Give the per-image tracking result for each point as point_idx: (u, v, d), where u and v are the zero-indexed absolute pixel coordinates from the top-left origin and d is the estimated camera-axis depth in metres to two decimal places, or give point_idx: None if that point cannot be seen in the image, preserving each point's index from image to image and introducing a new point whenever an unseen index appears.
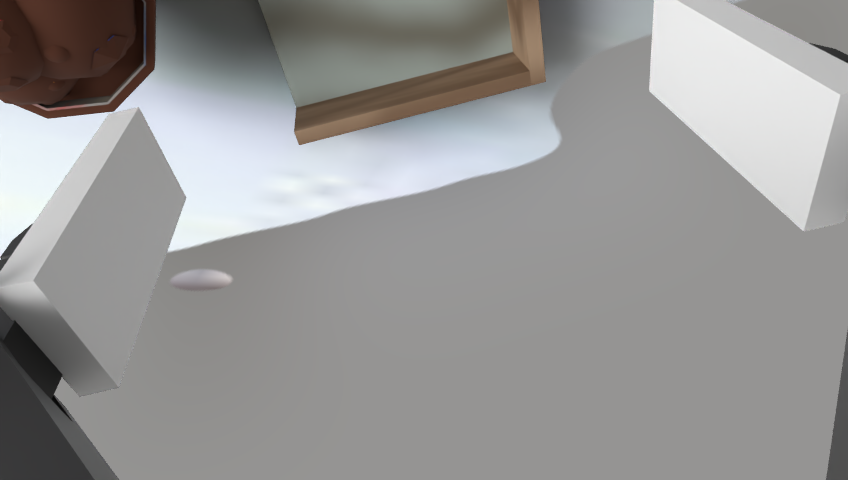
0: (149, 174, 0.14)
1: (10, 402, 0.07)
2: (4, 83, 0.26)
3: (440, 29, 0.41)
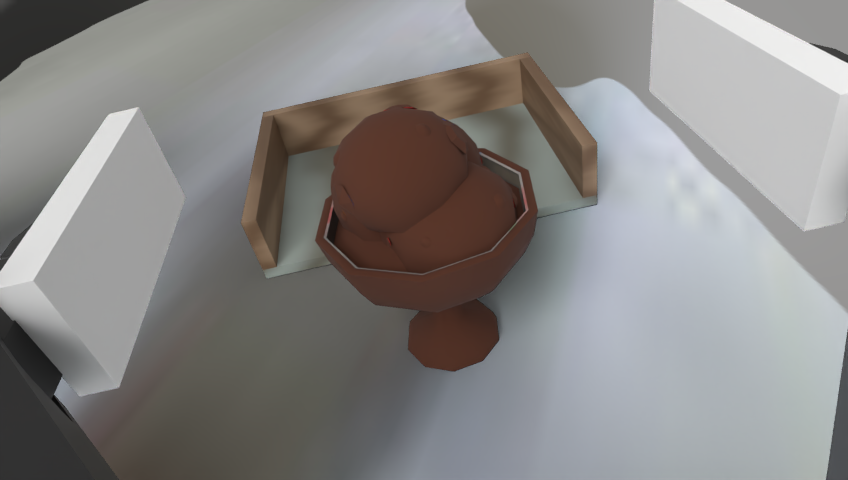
0: (149, 174, 0.14)
1: (10, 402, 0.07)
2: (451, 127, 0.26)
3: (505, 133, 0.50)
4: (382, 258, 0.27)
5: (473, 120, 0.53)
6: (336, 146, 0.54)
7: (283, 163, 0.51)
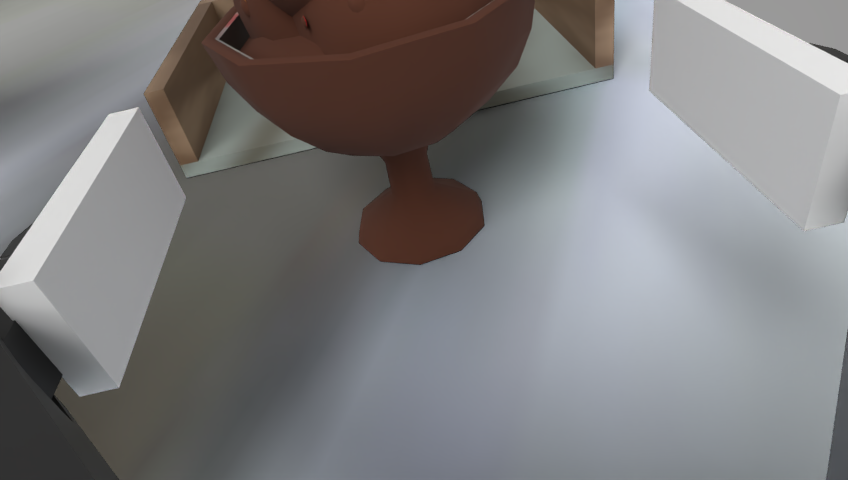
0: (149, 174, 0.14)
1: (10, 402, 0.07)
2: None
3: None
4: (297, 54, 0.17)
5: None
6: None
7: None
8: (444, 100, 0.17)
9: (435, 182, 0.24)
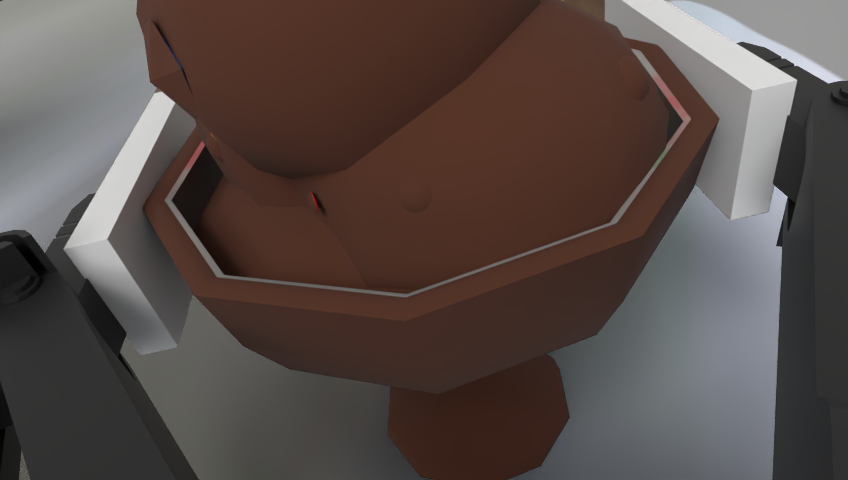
0: None
1: (82, 358, 0.08)
2: None
3: None
4: (300, 249, 0.10)
5: None
6: None
7: None
8: (560, 338, 0.10)
9: None
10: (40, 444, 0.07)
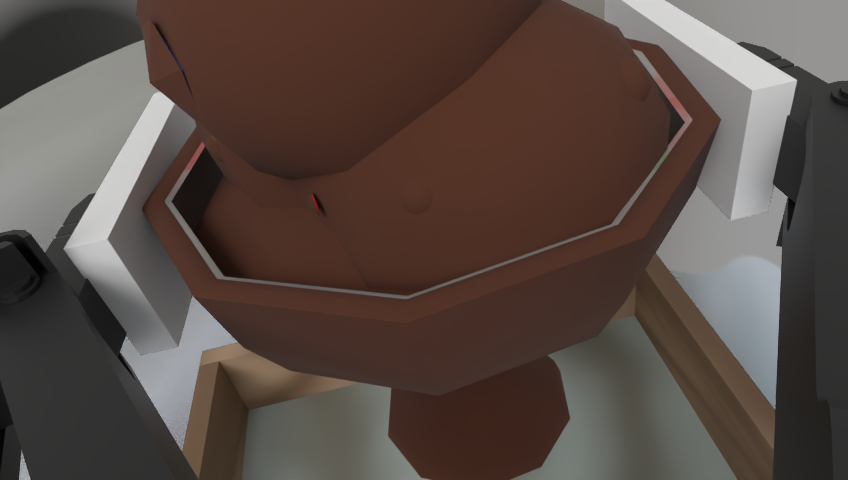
0: None
1: (81, 358, 0.08)
2: None
3: (621, 396, 0.29)
4: (301, 251, 0.10)
5: (556, 352, 0.32)
6: (327, 394, 0.32)
7: (236, 447, 0.30)
8: (561, 339, 0.10)
9: None
10: (40, 444, 0.07)
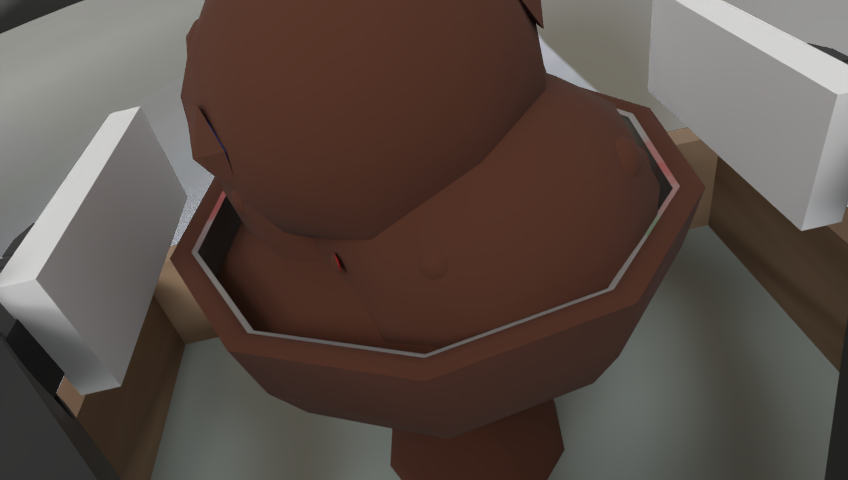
0: (150, 173, 0.14)
1: (12, 400, 0.07)
2: None
3: (699, 323, 0.20)
4: (322, 304, 0.11)
5: None
6: None
7: (158, 387, 0.21)
8: (561, 388, 0.11)
9: None
10: None
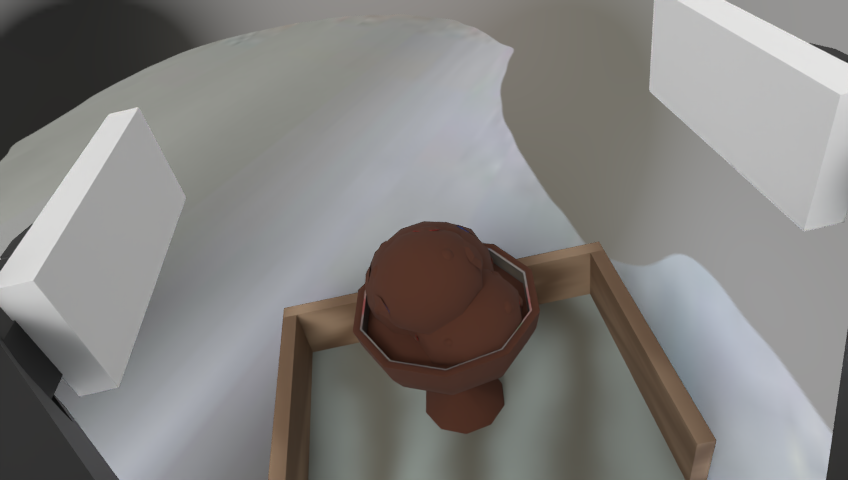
0: (149, 174, 0.14)
1: (10, 401, 0.07)
2: (469, 246, 0.31)
3: (574, 347, 0.42)
4: (410, 350, 0.32)
5: None
6: None
7: (307, 374, 0.43)
8: (489, 378, 0.32)
9: None
10: None
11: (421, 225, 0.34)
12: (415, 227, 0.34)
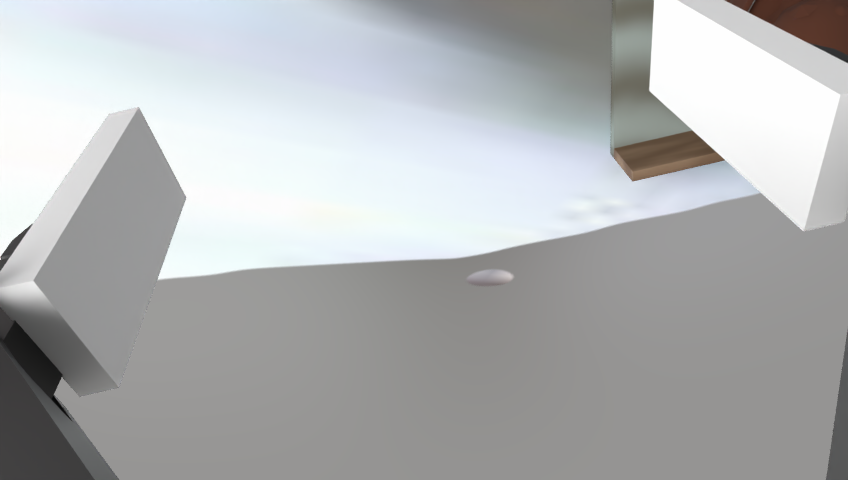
0: (149, 174, 0.14)
1: (10, 401, 0.07)
2: None
3: None
4: (761, 10, 0.38)
5: None
6: None
7: None
8: None
9: None
10: None
11: None
12: None
